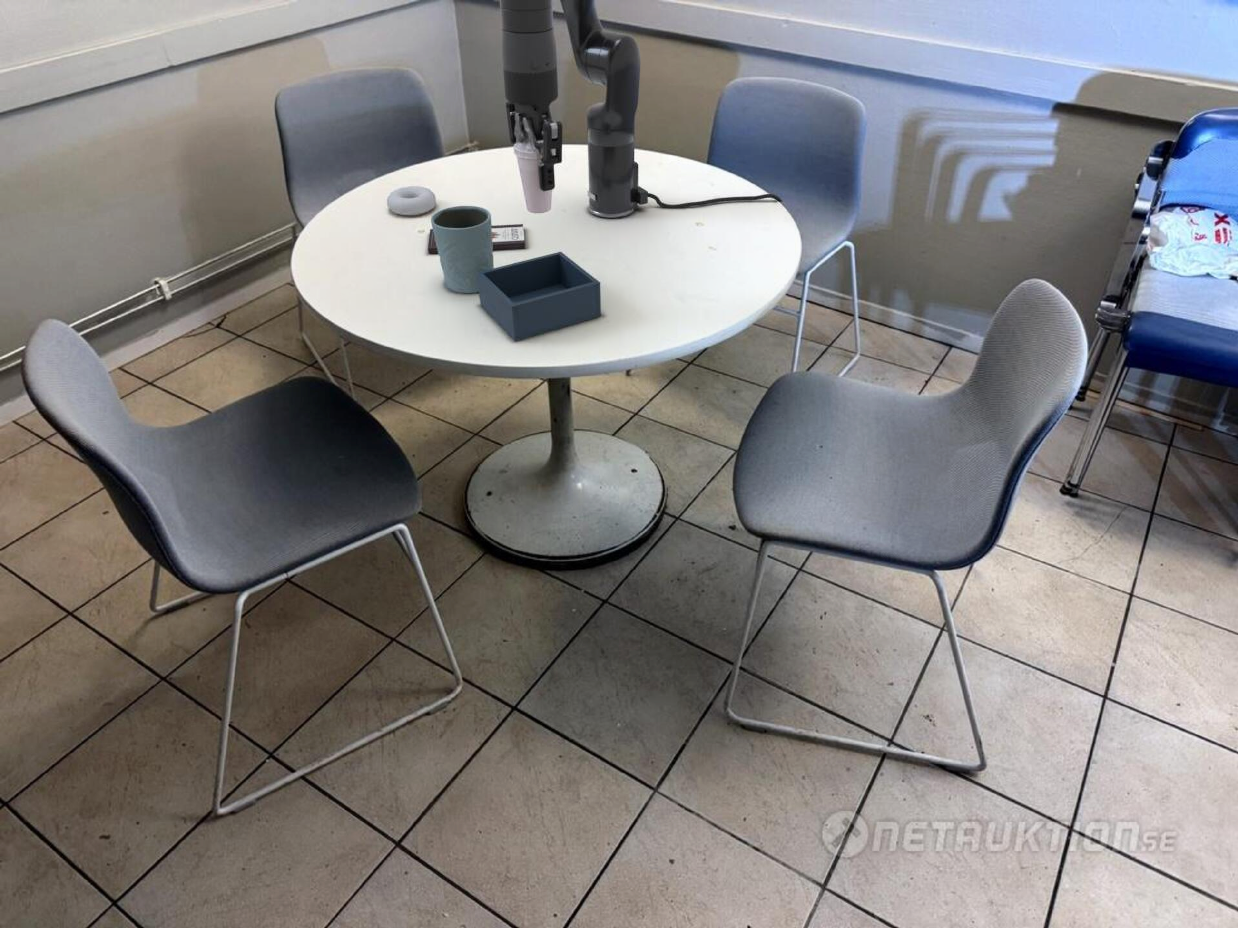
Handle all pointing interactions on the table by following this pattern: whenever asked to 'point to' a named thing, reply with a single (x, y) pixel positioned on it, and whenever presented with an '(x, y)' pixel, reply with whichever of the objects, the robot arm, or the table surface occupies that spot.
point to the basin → (539, 295)
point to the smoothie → (531, 178)
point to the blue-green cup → (463, 245)
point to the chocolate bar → (494, 238)
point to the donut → (411, 200)
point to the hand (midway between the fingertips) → (537, 182)
